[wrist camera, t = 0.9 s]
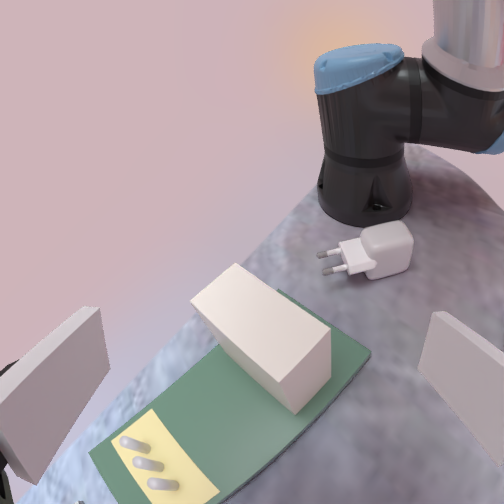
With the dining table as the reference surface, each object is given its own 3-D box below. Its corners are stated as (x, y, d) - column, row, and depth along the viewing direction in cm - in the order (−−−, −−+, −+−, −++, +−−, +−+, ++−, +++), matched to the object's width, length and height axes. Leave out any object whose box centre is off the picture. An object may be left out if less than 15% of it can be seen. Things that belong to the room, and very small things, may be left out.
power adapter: (326, 298, 35) (323, 265, 31) (316, 267, 38) (312, 234, 34) (411, 275, 34) (419, 241, 29) (396, 247, 37) (401, 213, 33)
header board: (280, 296, 36) (272, 266, 32) (369, 357, 28) (376, 332, 24) (96, 454, 26) (64, 444, 22) (157, 544, 18) (126, 549, 14)
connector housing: (259, 322, 33) (235, 262, 26) (331, 377, 27) (330, 328, 20) (226, 353, 31) (189, 300, 24) (295, 415, 25) (279, 382, 18)
